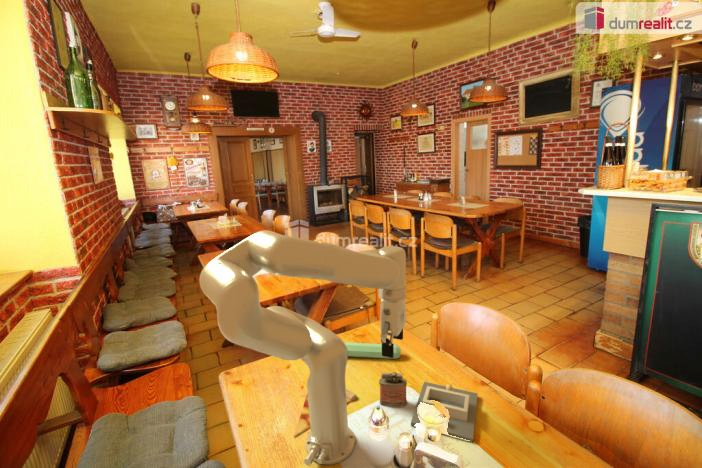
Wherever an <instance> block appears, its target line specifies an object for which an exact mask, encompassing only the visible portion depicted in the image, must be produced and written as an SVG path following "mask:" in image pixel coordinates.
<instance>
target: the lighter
mask: <svg viewBox="0 0 702 468" xmlns="http://www.w3.org/2000/svg"><path fill="white" fill-rule="evenodd" d="M380 376H381V377H380V378H379V380H378V384H379V404H380V406H384V407H390V408H397V407H398V408H399V407H401V408H402V407H406V406H407V405H406V404H408V400H407V384H408V383H407V379H406V378H404V377H403V373H397V372H396V371H392V372H391V373H390V372H382V373H381V375H380ZM405 405H406V406H405Z"/></svg>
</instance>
